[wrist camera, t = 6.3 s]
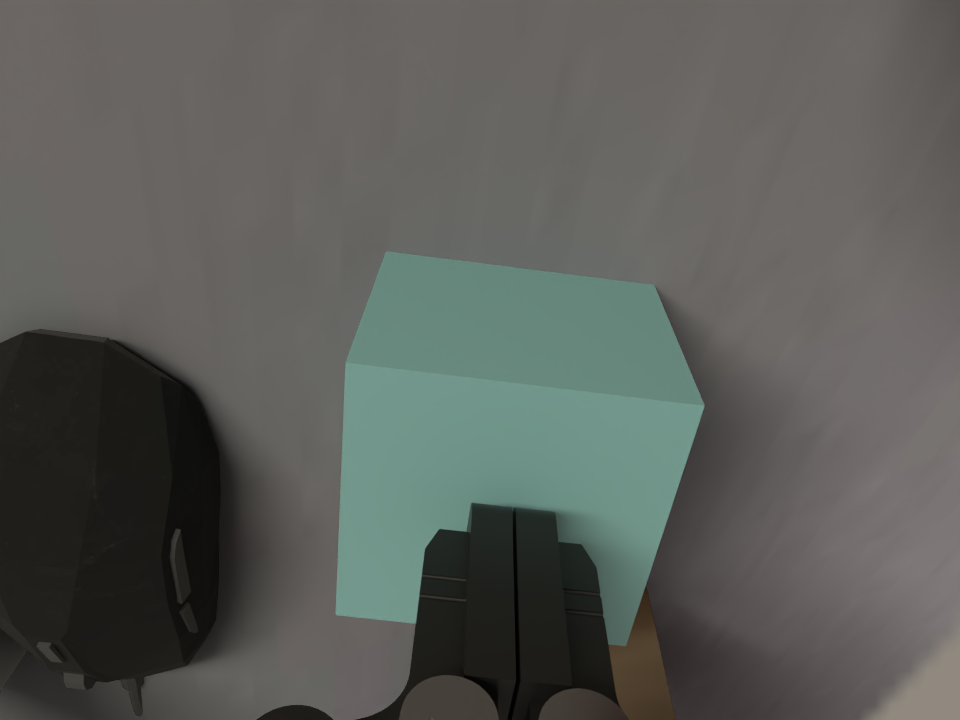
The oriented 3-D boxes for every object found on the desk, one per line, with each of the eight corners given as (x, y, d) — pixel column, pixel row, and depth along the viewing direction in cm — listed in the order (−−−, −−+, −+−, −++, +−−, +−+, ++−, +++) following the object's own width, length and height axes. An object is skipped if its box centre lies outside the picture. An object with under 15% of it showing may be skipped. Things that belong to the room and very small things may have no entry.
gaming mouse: (48, 695, 25) (-25, 817, 22) (-49, 299, 18) (-182, 389, 14) (237, 715, 25) (194, 839, 22) (219, 333, 18) (151, 430, 15)
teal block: (386, 249, 17) (345, 363, 12) (653, 282, 17) (704, 406, 13) (372, 463, 20) (335, 614, 15) (599, 489, 20) (625, 646, 16)
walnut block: (470, 590, 22) (462, 755, 18) (644, 577, 21) (680, 742, 17) (492, 700, 24) (490, 868, 20) (648, 690, 24) (681, 859, 20)
